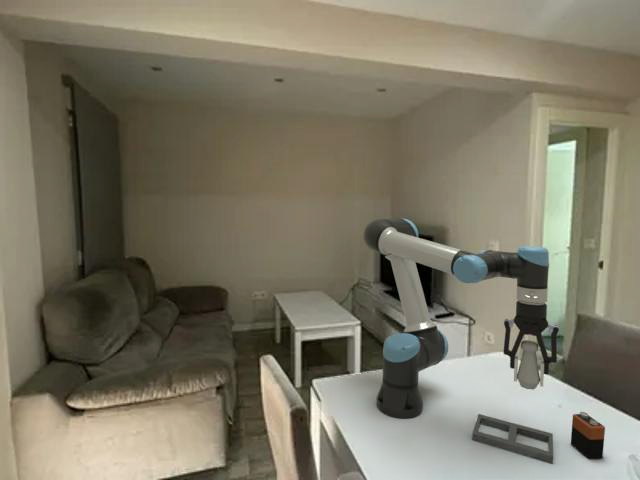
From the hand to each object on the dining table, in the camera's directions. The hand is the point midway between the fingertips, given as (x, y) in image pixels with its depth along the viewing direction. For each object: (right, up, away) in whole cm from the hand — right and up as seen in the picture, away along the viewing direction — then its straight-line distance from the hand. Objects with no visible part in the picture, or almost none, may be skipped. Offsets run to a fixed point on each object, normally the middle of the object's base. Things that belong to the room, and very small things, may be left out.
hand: (528, 381), depth 109 cm
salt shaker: (0, -2, 0) cm, 2 cm away
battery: (+14, -18, -3) cm, 23 cm away
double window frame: (-4, -17, +2) cm, 18 cm away
